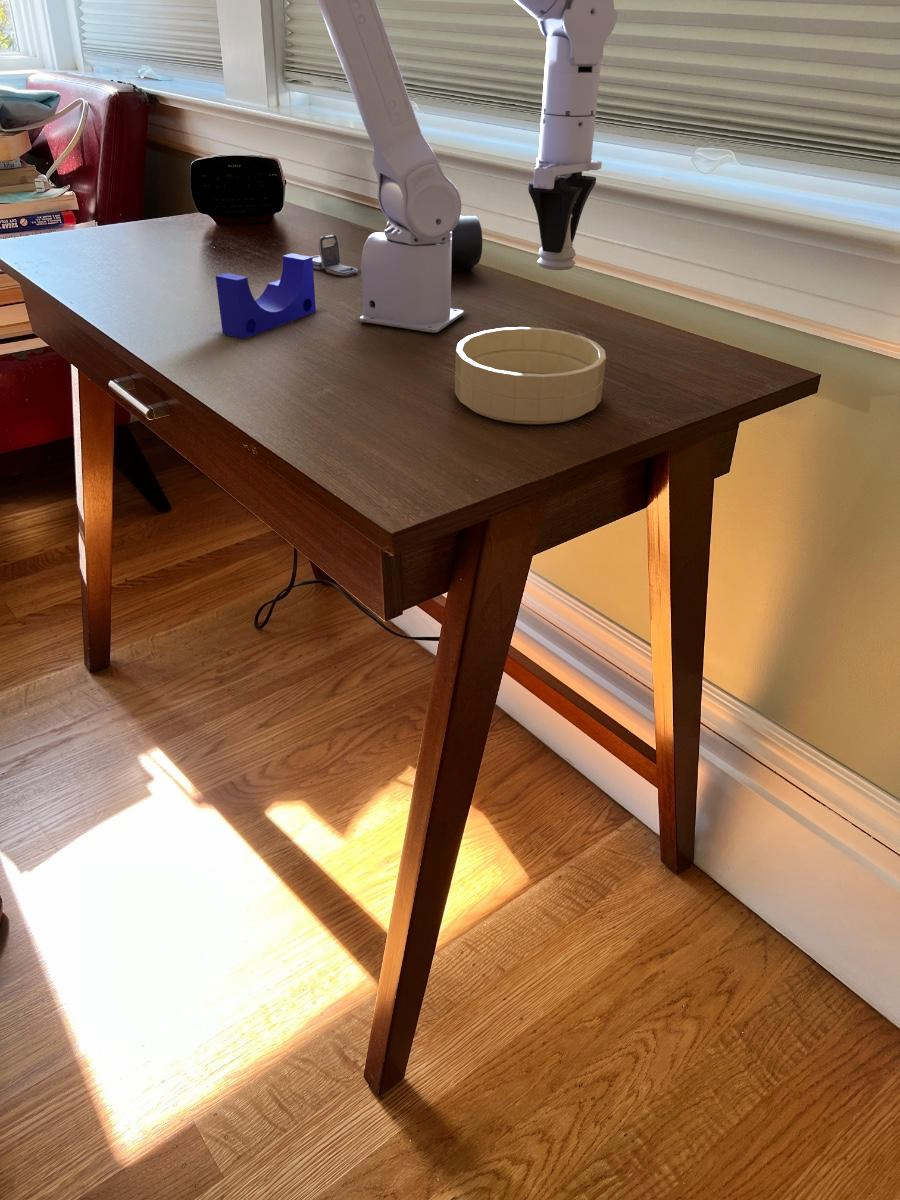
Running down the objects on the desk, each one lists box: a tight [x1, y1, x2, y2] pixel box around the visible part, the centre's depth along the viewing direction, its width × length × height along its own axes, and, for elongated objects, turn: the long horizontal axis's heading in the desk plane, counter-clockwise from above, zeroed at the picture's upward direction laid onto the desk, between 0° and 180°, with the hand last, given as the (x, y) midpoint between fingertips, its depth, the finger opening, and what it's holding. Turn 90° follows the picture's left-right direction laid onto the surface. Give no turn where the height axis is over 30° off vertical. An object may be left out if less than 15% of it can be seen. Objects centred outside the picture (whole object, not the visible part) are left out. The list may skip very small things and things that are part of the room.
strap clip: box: [311, 234, 359, 276], centre depth 119 cm, size 8×3×4 cm, turn 48°
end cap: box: [451, 214, 484, 271], centre depth 118 cm, size 10×7×7 cm
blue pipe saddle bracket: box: [215, 252, 317, 340], centre depth 99 cm, size 12×4×6 cm, turn 148°
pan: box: [454, 326, 607, 425], centre depth 82 cm, size 13×13×4 cm
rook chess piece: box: [536, 202, 577, 271], centre depth 102 cm, size 4×4×8 cm
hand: (557, 248), depth 103 cm, fingers closed on rook chess piece, 3 cm apart
